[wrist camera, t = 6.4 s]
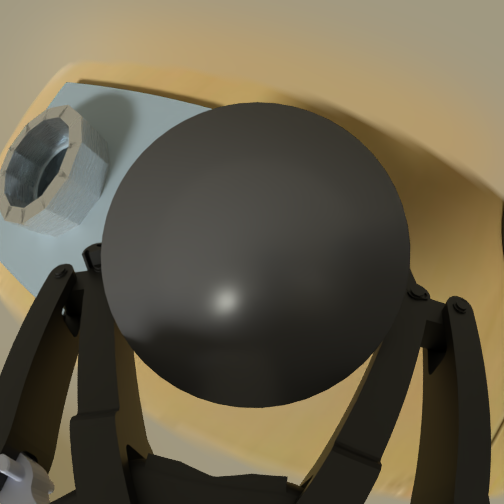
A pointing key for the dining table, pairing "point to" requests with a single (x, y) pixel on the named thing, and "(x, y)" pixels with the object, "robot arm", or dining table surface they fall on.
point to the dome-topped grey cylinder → (255, 255)
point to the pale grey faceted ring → (53, 173)
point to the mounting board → (121, 159)
